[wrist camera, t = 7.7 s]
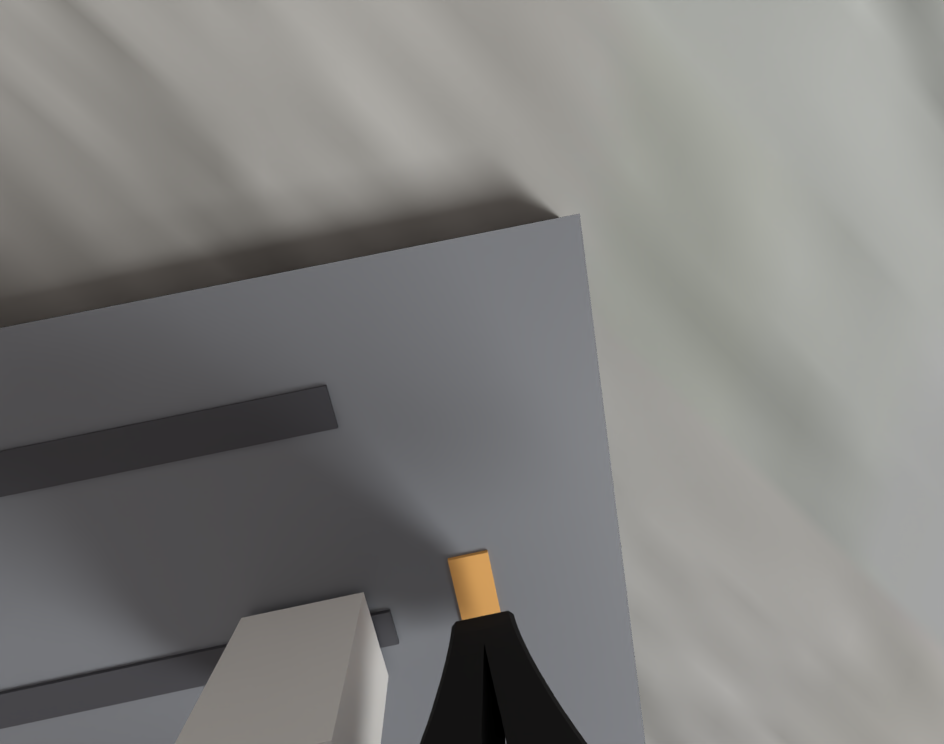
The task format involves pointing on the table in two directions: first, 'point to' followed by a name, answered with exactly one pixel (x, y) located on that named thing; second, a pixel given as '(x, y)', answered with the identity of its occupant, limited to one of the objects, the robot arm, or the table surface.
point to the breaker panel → (312, 484)
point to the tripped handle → (296, 680)
